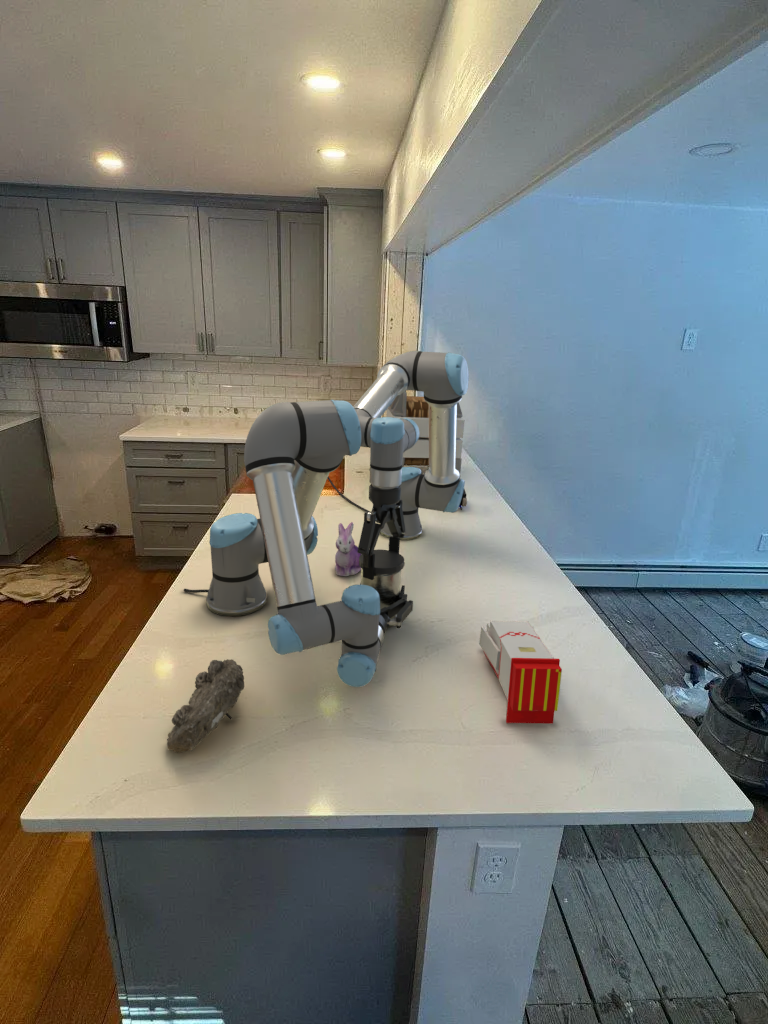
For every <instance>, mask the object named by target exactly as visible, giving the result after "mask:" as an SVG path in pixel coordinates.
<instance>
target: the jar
mask: <svg viewBox="0 0 768 1024" xmlns="http://www.w3.org/2000/svg"><path fill="white" fill-rule="evenodd" d="M401 580H402V570H401V571H399V572H396V573H392V574H374V579H373V580H370V579H367V578H364V577H363V569H362V568H361V570H360V583H361V585H367V586H370V587H373V588H374V589H375V590H376V591H377V592H378V593H379V597H380V610H381V609H382V608H384V607H389V606H390V605H392V604H394V603H395V602H397V601H399V594H400V591H401V582H402V581H401ZM396 615H397V614H396ZM394 617H395V616H393V617H391V618H390V619H393V618H394ZM394 626H395V625H390V626H389V627H387V629H388V628H391V627H394Z"/></svg>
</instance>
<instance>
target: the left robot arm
mask: <svg viewBox="0 0 768 1024" xmlns="http://www.w3.org/2000/svg"><path fill="white" fill-rule="evenodd" d="M353 406H354V405H352V403H350V402H349V401H346V400H340V399H339V400H336V399H329V400H311V401H310V400H309V401H293V402H290V401H281V402H277V403H274V404H272V405H270V406H267V408H265V409H264V410H262V411H261V412H260V413H259V414H258V415H257V417H256V418H255V420H254V421H253V422H252V424H251V426H250V428H249V430H248V433H247V436H246V440H245V443H244V444H245V445H244V452H243V461H244V462H243V463H244V468H245V473H246V477H247V478H249V479H250V480H251V481H252V483H253V489H254V493H255V499H256V503H257V505H256V506H257V510H258V514H259V518H257V517H256V516H255V514H253V513H249V512H245V513H243V512H236V513H231V514H227V515H224V516H222V517H220V518H218V519H216V520H215V521H214V522H213V523H212V524H211V526H210V529H209V541H208V543H209V546H210V559H211V571H212V572H211V573H212V578H211V582H210V585H209V587H208V589H189V588H184V589H183V592H186V593H189V594H190V593H191V594H197V593H198V594H200V593H201V594H202V593H207V594H206V607H207V609H208V610H209V611H210V612H212V613H214V614H216V615H219V616H225V617H239V616H246V615H250V614H252V613H255V612H258V611H259V610H261V609H262V608H264V606H265V605H266V603H267V599H268V598H267V591H266V588H265V586H264V583H263V581H262V578H261V575H260V572H259V571H260V570H259V565H261V564H266V563H268V567H269V573H270V578H271V583H272V590H273V594H274V599H275V605H276V610H277V611H276V612H277V613H276V614H275V615H272V616H271V617H270V618H269V619H268V621H267V628H268V631H267V632H268V633H267V634H268V639H269V643H270V645H271V647H272V649H273V651H274V652H275V653H276V654H278V655H280V656H284V655H289V654H293V653H302V652H304V651H306V650H310V649H313V648H319V647H321V646H325V645H329V644H333V643H337V642H341V649H340V650H341V651H340V656H339V658H338V661H337V667H336V672H337V676H338V677H339V679H340V681H341V682H343V684H344V685H347V686H350V687H353V688H361V687H365V686H366V685H368V684H369V683H370V682H371V681H372V679H373V678H374V675H375V674H376V673H375V672H377V664H378V661H379V656H380V652H381V650H382V646H383V644H384V639H385V635H386V632H387V629H388V628H387V627H389V626H390V625H394V626H395V628H396V629H398V630H399V629H402V625H403V622H405V620H406V619H407V618H408V616H409V615H410V614H411V613H412V612H413V609H414V601H413V600H408V594H407V593H405V587H406V586H405V585H402V584H401V586H400V594H399V601H397V602H395V603H394V604H392V605H390V606H389V607H384V608H382V609H381V610H380V597H379V593H378V592H377V591H376V590H375V589H374V588H373V587H370V586H367V585H361V582H360V583H359V584H352V585H349V586H348V587H346V588H344V590H343V591H342V595H341V600H339V601H334V602H329V603H325V604H320V605H318V604H317V601H316V594H315V593H316V592H315V588H314V583H313V578H312V573H311V568H310V567H311V566H310V562H309V558H308V557H309V556H308V555H310V554H312V553H313V552H314V550H315V549H316V547H317V545H318V541H319V539H318V538H317V537H318V536H319V529H318V524H317V521H316V519H315V517H314V516H313V514H314V512H315V510H316V507H317V505H318V502H319V500H320V498H321V496H322V493H323V490H324V488H325V486H326V483H327V481H328V477H329V475H330V474H331V473H332V472H334V471H336V470H337V469H338V468H339V467H340V466H341V464H342V462H343V459H344V457H346V456H349V457H351V456H353V455H357V454H358V452H359V451H360V449H361V447H360V446H361V428H360V422H359V419H358V416H357V413H356V411H355V409H354V407H353ZM396 614H397V615H396ZM393 616H395V617H394V618H393V619H390V618H391V617H393Z"/></svg>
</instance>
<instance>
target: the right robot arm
mask: <svg viewBox="0 0 768 1024" xmlns="http://www.w3.org/2000/svg"><path fill="white" fill-rule="evenodd" d="M469 373H470V372H469V366H468V362H467V359H466V358H465V356H463V355H462V354H458V353H452V352H437V351H420V350H412V351H411V350H410V351H407V352H403V353H401V354H397V356H394V357H392V358H391V359H389V360H388V361H387V362H385V363H384V364H383V365H382V366H381V367H380V368H379V370H378V372H377V376H376V379H375V380H374V381H373V383H372V384H371V385H370V386H369V387H368V389H366V391H365V392H364V393H363V394H362V396H361V397H360V398H359V399H358V400H357V401H356V402H355V404H354V405H352V406H353V407H354V409H355V411H356V413H357V416H358V419H359V422H360V428H361V446H360V448H369V450H370V452H369V455H370V456H369V457H370V458H369V485H368V500H369V501H370V503H372V508H371V511H370V510H368V509H366V508H365V507H363V506H361V505H359V504H357V503H355V502H354V501H352V500H351V499H349V498H348V497H347V496H345V495H344V494H343V493H342V492H341V491H340V490H339V489H338V488H337V487H336V485H335V484H334V482H333V481H332V480H331V479H330V477H329V476H328V478H327V481H328V482H329V483H330V484H331V486H332V488H333V489H334V490H335V491H336V492H337V494H339V496H341V497H342V498H343V499H344V500H346V501H347V502H348V503H350V504H352V505H353V506H354V507H357V508H358V509H360V510H361V511H364V514H363V523H362V529H361V533H360V537H359V542H358V546H357V547H358V551H357V552H358V553H360V554H363V577H364V578H367V579H370V580H373V579H374V567H375V554H373V551H374V550H376V549H375V548H376V546H377V543H378V540H379V537H380V535H381V536H382V537H385V538H387V539H388V550H390V551H394V552H397V553H399V554H400V545H401V541H410V540H415V539H418V538H420V537H421V536H422V535H423V525H422V524H421V518H420V515H419V509H424V510H432V511H437V512H442V513H456V512H457V511H458V509H459V508H460V507H459V505H460V502H461V499H462V495H463V491H464V489H465V484H466V483H465V482H466V481H465V479H463V478H461V474H460V475H459V472H458V471H457V470H456V469H455V453H456V416H457V403H458V402H459V403H460V402H461V401H462V399H463V396H465V395H467V393H468V389H469V381H470V380H469V379H470V378H469V377H470V375H469ZM404 391H406V392H407V391H413V392H414V391H415V392H422V393H423V397H424V400H425V401H426V402H427V403H428V404H429V465H428V469H427V470H426V471H425V472H424V473H422V470H421V468H419V467H417V466H404V467H402V459H403V452H405V451H406V450H408V449H410V448H412V447H413V446H414V444H415V443H416V442H417V441H418V438H419V428H418V426H417V424H416V423H415V422H414V421H413V420H411V419H408V418H400V419H398V418H393V417H386V416H383V415H384V414H386V413H385V412H387V409H388V407H389V406H390V405H391V403H392V402H393V401H394V399H395V398H396V397H397V395H400V394H402V393H403V392H404ZM458 507H459V508H458Z"/></svg>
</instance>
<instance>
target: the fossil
mask: <svg viewBox="0 0 768 1024" xmlns="http://www.w3.org/2000/svg"><path fill="white" fill-rule="evenodd" d="M243 670H244V669H243V667H242V665H240V664H237V662H236V661H235V660H234V659H232V658H231V659H227V658H226V659H224V660H223V661H222V660H217V659H212V660H211V661H210V663H209V665H208V666H207V671H201V672H199V673H198V674H197V675H196V676H195V680H194V684H195V685H194V687H195V689H194V690H193V693H192V694H191V697H190V698H189V700H188V704H184V705H182V706H181V707H180V709H177V710H176V711H175V713H174V715H173V716H172V718H171V723H172V724H173V727H172V730H171V731H170V732H168V734H167V738H166V741H167V742H166V745H167V749H168V750H169V751H173V752H174V753H176V754H178V753H182V752H188V751H189V752H192V751H193V750H195V748H196V747H197V746H199V744H200V743H201V742H203V741H204V740H205V739H206V738H207V737H208V736H209V735H210V734H211V733H212V732H214V730H215V729H217V727H218V726H219V724H220V722H221V721H222V720H223V719H224V718H225V716H226V717H227V719H229V720H233V717H232V715H230V714H229V710H230V709H231V708H234V706H235V704H236V703H237V702H238V699H239V697H240V695H241V693H242V691H243V690H245V689H244V688H245V675H244V671H243Z"/></svg>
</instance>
